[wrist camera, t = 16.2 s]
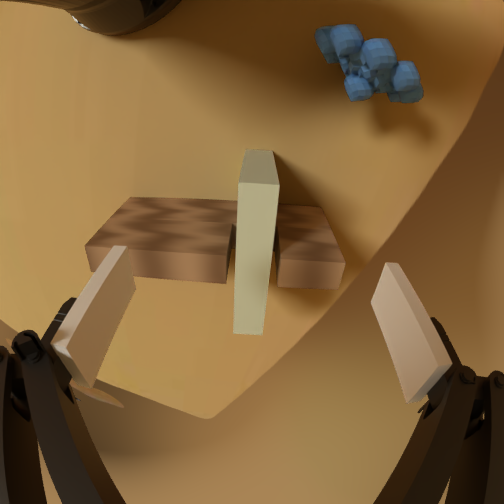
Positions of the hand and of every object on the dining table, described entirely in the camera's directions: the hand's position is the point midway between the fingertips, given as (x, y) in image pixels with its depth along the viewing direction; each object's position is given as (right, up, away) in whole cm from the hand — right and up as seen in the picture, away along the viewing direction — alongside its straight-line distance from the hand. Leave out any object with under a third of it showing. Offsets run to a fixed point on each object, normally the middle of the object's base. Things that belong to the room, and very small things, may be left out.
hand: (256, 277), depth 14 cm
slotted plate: (0, +6, +21) cm, 22 cm away
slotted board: (-4, +6, +21) cm, 22 cm away
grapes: (+10, +21, +12) cm, 26 cm away
